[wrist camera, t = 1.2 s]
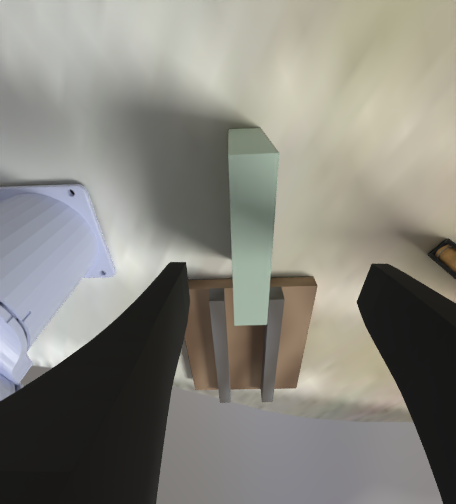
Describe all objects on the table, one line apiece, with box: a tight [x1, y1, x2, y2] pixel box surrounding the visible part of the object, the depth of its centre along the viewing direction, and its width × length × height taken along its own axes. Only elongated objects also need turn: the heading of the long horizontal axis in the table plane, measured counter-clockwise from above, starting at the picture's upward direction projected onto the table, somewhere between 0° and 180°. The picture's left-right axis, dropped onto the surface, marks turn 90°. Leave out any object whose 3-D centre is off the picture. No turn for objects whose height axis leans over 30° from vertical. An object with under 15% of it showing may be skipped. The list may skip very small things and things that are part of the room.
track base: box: [184, 277, 317, 403], centre depth 26 cm, size 12×16×3 cm
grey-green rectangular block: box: [228, 128, 279, 326], centre depth 16 cm, size 2×10×7 cm, turn 2°
